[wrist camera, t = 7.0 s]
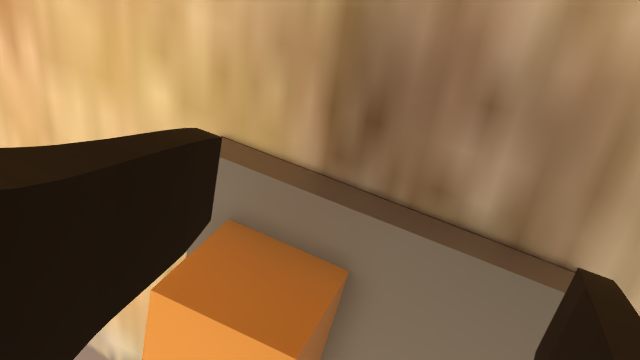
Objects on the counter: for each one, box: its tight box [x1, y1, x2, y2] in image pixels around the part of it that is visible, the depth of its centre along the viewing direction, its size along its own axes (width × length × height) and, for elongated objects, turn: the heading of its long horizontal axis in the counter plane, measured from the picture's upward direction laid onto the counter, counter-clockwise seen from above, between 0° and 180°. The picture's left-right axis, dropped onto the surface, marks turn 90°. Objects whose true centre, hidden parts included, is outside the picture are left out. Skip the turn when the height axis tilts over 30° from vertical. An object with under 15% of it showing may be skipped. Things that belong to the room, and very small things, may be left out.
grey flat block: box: [186, 137, 575, 360], centre depth 22 cm, size 14×10×5 cm
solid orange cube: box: [142, 219, 349, 360], centre depth 21 cm, size 5×5×5 cm
